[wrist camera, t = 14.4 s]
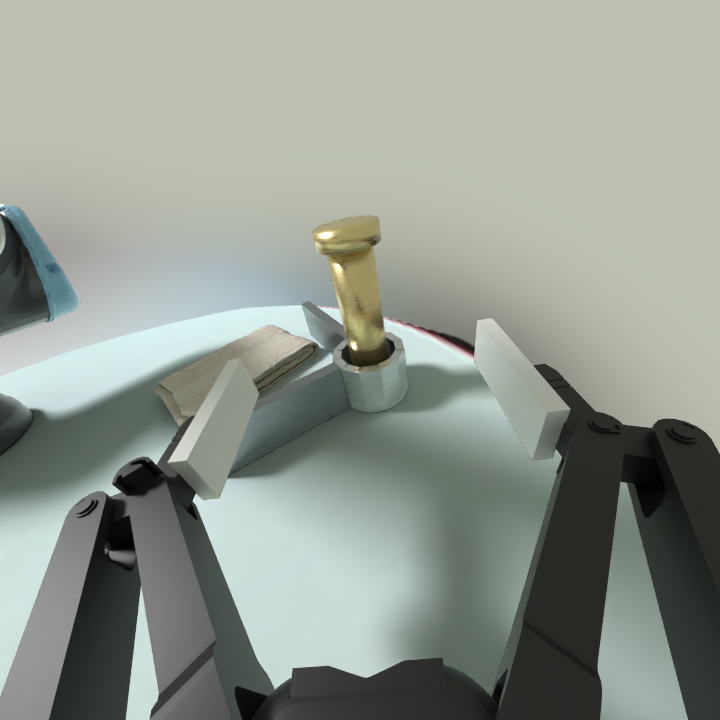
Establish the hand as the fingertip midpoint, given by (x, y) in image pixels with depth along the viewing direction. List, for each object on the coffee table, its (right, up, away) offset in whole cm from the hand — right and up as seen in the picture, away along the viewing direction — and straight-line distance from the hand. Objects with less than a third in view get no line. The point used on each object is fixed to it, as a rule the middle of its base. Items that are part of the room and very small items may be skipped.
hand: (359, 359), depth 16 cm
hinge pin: (+2, -3, +14) cm, 15 cm away
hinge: (-7, -3, +17) cm, 19 cm away
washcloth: (-15, -2, +21) cm, 26 cm away
